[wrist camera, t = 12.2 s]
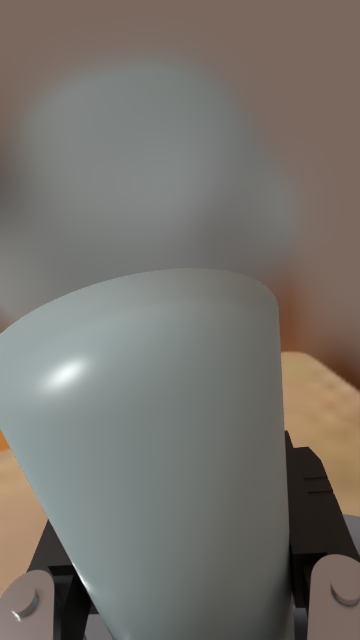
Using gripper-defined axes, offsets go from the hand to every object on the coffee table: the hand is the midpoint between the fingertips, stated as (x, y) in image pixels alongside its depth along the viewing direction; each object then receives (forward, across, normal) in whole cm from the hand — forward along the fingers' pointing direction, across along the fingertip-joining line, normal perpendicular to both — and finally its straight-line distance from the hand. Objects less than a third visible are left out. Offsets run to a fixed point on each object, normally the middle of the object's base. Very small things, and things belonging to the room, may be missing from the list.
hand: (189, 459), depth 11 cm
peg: (-3, 0, +8) cm, 9 cm away
